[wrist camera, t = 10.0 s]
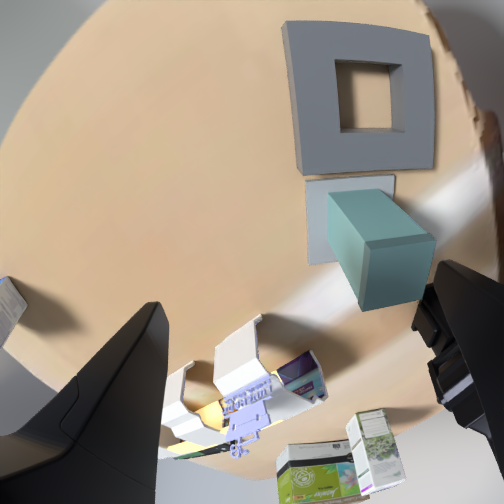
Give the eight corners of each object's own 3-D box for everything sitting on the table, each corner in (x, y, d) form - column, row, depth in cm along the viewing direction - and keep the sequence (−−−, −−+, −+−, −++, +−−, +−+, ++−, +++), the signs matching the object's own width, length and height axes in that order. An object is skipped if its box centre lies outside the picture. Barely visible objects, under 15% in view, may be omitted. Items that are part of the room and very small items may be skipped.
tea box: (357, 436, 46) (372, 498, 34) (338, 453, 52) (349, 508, 39) (286, 443, 45) (294, 513, 32) (274, 458, 50) (279, 518, 37)
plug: (378, 187, 20) (436, 240, 13) (374, 235, 22) (421, 299, 15) (327, 192, 20) (370, 249, 13) (327, 241, 22) (362, 311, 15)
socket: (414, 37, 14) (428, 35, 12) (418, 161, 19) (432, 168, 18) (281, 27, 14) (286, 20, 13) (296, 167, 19) (302, 175, 18)
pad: (392, 174, 20) (394, 175, 19) (385, 251, 23) (387, 254, 23) (304, 180, 20) (306, 182, 20) (308, 262, 24) (309, 265, 23)
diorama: (253, 305, 26) (262, 441, 15) (318, 351, 30) (343, 459, 19) (125, 394, 35) (108, 475, 23) (183, 421, 39) (177, 496, 28)
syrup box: (344, 426, 42) (360, 497, 30) (355, 412, 39) (374, 489, 27) (372, 421, 43) (391, 488, 30) (385, 406, 40) (407, 479, 27)
